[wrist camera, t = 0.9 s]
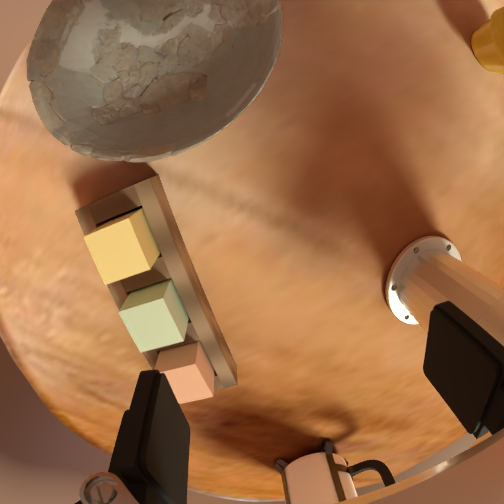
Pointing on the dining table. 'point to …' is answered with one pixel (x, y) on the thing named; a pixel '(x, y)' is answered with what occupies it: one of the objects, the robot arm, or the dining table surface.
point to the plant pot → (490, 43)
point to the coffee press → (324, 477)
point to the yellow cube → (123, 246)
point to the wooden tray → (165, 271)
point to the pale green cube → (155, 315)
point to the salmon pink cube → (187, 371)
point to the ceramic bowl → (149, 71)
